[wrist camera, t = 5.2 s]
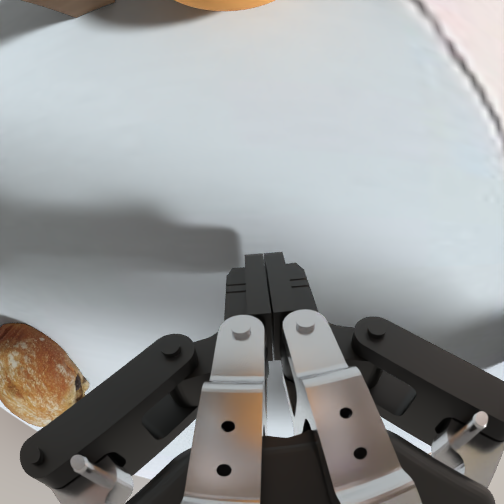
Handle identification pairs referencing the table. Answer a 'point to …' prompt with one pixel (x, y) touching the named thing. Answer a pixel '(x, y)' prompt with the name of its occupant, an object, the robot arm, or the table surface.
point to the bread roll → (36, 375)
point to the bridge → (72, 5)
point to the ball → (224, 4)
